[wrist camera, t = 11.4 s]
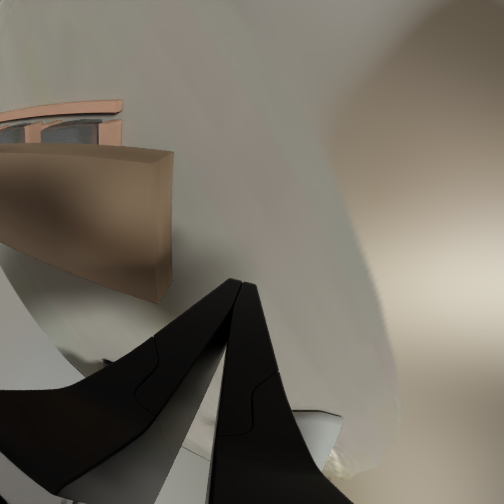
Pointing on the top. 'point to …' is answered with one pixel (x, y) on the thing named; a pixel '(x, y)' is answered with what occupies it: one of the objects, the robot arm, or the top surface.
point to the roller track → (107, 130)
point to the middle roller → (13, 134)
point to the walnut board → (91, 212)
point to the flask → (319, 433)
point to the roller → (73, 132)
